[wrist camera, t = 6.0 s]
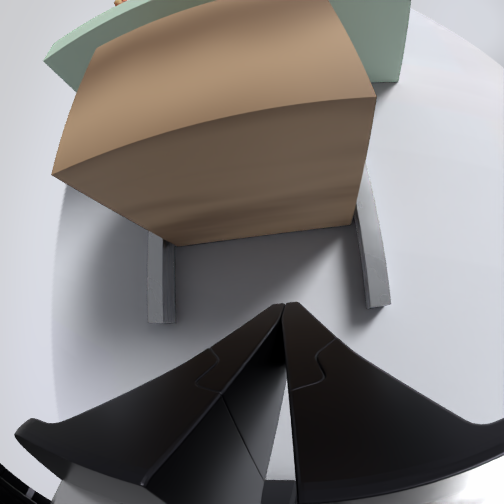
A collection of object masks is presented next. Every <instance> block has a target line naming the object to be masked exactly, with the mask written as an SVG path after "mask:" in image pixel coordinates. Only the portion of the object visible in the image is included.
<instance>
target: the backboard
mask: <svg viewBox="0 0 504 504" xmlns="http://www.w3.org/2000/svg"><path fill="white" fill-rule="evenodd" d="M212 1H216V0H127V1H125V2H123V3H121V4H119V5H117V6H115V7H113V8H111V9H110V10H108V11H106V12H104V13H102V14H101V15H98V16H97V17H95V18H93V19H91V20H90V21H88V22H86V23H85V24H83V25H81V26H80V27H78V28H77V29H75V30H73V31H72V32H71V33H69V34H67V35H66V36H65V37H63V38H61V39H60V40H58V41H57V42H56V43H54V44H53V46H52V47H51V49H50V51H49V52H48V54H47V56H46V57H45V59H44V62H45V63H46V64H47V65H48V66H49V67H50V68H51V69H52V70H53V71H54V72H55V73H56V74H58V76H60V77H61V78H62V79H63V80H64V81H65V82H66V83H67V84H68V85H69V86H70V87H72V89H73V90H74V91H76V92H77V91H78V88H79V86H80V83H81V81H82V79H83V76H84V74H85V72H86V69H87V67H88V65H89V63H90V60H91V58H92V56H93V54H94V52H95V50H96V48H98V47H100V46H101V45H103V44H105V43H107V42H109V41H111V40H113V39H115V38H117V37H119V36H121V35H123V34H125V33H128V32H130V31H132V30H134V29H136V28H139V27H141V26H143V25H146V24H148V23H151V22H153V21H156V20H158V19H161V18H163V17H166V16H169V15H171V14H174V13H177V12H180V11H183V10H186V9H189V8H192V7H195V6H198V5H202V4H205V3H209V2H212ZM328 1H329V2H330V4H331V5H332V7H333V9H334V11H335V12H336V14H337V16H338V18H339V19H340V21H341V23H342V25H343V27H344V28H345V30H346V32H347V34H348V36H349V38H350V40H351V42H352V44H353V46H354V48H355V50H356V52H357V54H358V56H359V58H360V60H361V62H362V64H363V66H364V69H365V71H366V73H367V75H368V77H369V80H370V82H398V80H399V75H400V70H401V65H402V59H403V54H404V48H405V42H406V35H407V28H408V21H409V13H410V5H411V0H328Z"/></svg>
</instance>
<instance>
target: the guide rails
mask: <svg viewBox="0 0 504 504" xmlns="http://www.w3.org/2000/svg"><path fill="white" fill-rule="evenodd" d="M354 218H355V224H356V230H357V236H358V242H359V249H360V256H361V263H362V271H363V279H364V288H365V297H366V307H367V308H374V307H381V306H387V305H390V304H391V299H390V290H389V282H388V274H387V267H386V260H385V253H384V247H383V241H382V235H381V230H380V224H379V219H378V214H377V209H376V204H375V199H374V195H373V190H372V186H371V181H370V177H369V173H368V169H367V165H366V161H365V165H364V170H363V175H362V180H361V184H360V189H359V193H358V197H357V202H356V206H355V210H354ZM147 311H148V323H176V311H175V245H174V244H172V243H170V242H168V241H166V240H164V239H163V238H161V237H159V236H157V235H155V234H154V233H152V232H150V231H148V257H147Z"/></svg>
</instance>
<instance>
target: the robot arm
mask: <svg viewBox="0 0 504 504" xmlns="http://www.w3.org/2000/svg"><path fill="white" fill-rule="evenodd" d="M286 379H287V383H288V393H289V405H290V416H291V428H292V439H293V452H294V464H295V478H296V481H294V480H265V477H266V473H267V469H268V465H269V461H270V456H271V452H272V448H273V443H274V439H275V434H276V429H277V425H278V420H279V415H280V410H281V405H282V400H283V395H284V390H285V385H286ZM14 435H15V438H16V439H17V441H18V442H19V443H20V444H21V445H22V446H23V447H24V448H25V449H26V450H27V451H28V452H29V453H30V454H31V455H32V456H34V457H35V458H36V459H37V460H38V461H39V462H40V463H42V464H43V465H44V466H45V467H46V468H47V469H49V470H50V471H51V472H52V473H54V474H55V475H56V476H57V477H59V478H60V479H61V480H62V481H61V483H60V485H59V487H58V489H57V491H56V493H55V495H54V497H53V499H52V501H50V500H49V499H47V498H45V497H44V496H42V495H41V494H39V493H38V492H36V491H34V490H33V489H32V488H30V487H29V486H27V485H26V484H25V483H23V482H22V481H21V480H20V479H18V478H17V477H16V476H14V475H13V474H12V473H11V472H10V471H8V470H7V469H6V468H5V467H4V466H3V465H1V464H0V504H504V418H503V419H500V420H498V421H496V422H493V423H490V424H475V423H471V422H469V421H466V420H465V419H463V418H461V417H459V416H458V415H456V414H454V413H453V412H451V411H449V410H448V409H446V408H444V407H442V406H441V405H439V404H437V403H436V402H434V401H432V400H431V399H429V398H427V397H426V396H424V395H422V394H421V393H419V392H417V391H416V390H414V389H413V388H411V387H409V386H408V385H406V384H404V383H403V382H401V381H400V380H398V379H396V378H395V377H393V376H391V375H390V374H388V373H387V372H385V371H383V370H382V369H380V368H379V367H377V366H375V365H374V364H372V363H371V362H369V361H367V360H366V359H364V358H363V357H361V356H360V355H358V354H357V353H356V352H354V351H353V350H352V349H350V348H349V347H348V346H347V345H345V344H344V343H343V342H342V341H341V340H340V339H339V338H337V337H336V336H335V335H334V334H333V333H332V332H330V331H329V330H328V329H327V328H326V327H325V326H324V325H323V324H322V323H321V322H320V321H318V320H317V319H316V318H315V317H314V316H313V315H312V314H311V313H310V312H309V311H308V310H306V309H305V308H304V307H303V306H302V305H301V304H300V303H299V302H290V303H286V305H285V304H284V303H281V304H273V305H271V306H270V307H268V308H267V309H266V310H264V311H263V312H261V313H260V314H258V315H257V316H256V317H254V318H253V319H251V320H250V321H248V322H247V323H246V324H244V325H243V326H241V327H240V328H238V329H237V330H235V331H234V332H232V333H231V334H229V335H228V336H226V337H225V338H224V339H222V340H221V341H219V342H218V343H216V344H215V345H213V346H212V347H210V349H209V348H208V349H206V350H205V351H203V352H202V353H200V354H199V355H197V356H195V357H194V358H192V359H190V360H189V361H187V362H185V363H184V364H182V365H180V366H178V367H176V368H174V369H173V370H171V371H169V372H167V373H165V374H163V375H161V376H159V377H157V378H155V379H153V380H151V381H149V382H147V383H145V384H143V385H141V386H139V387H137V388H135V389H133V390H131V391H129V392H127V393H125V394H123V395H120V396H118V397H116V398H114V399H112V400H110V401H108V402H106V403H103V404H101V405H99V406H97V407H95V408H92V409H90V410H88V411H86V412H83V413H81V414H79V415H77V416H74V417H72V418H70V419H67V420H65V421H62V422H59V423H46V422H43V421H41V420H38V419H35V418H31V419H29V420H27V421H26V422H25V423H24V424H22V425H21V426H20V427H19V428H18V430H17V431H16V433H15V434H14Z"/></svg>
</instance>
